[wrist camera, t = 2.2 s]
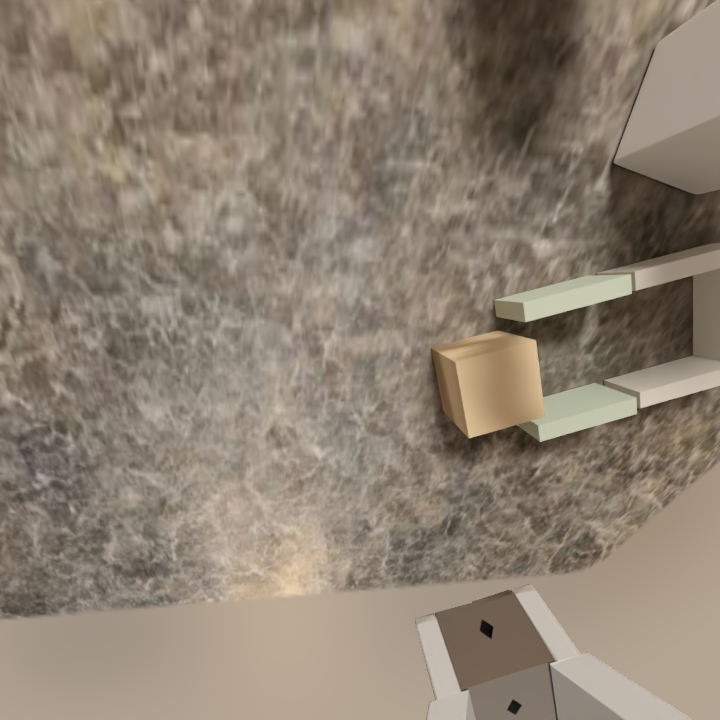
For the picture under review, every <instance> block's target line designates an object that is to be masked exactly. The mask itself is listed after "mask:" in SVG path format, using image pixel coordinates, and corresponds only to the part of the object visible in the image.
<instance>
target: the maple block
mask: <svg viewBox="0 0 720 720" xmlns="http://www.w3.org/2000/svg"><path fill="white" fill-rule="evenodd" d="M431 350H432V355H433V360H434V366H435V371H436V376H437V381H438V386H439V391H440V396H441V401H442V406H443V411H444V413H445V414H446V415H447V416H448V417H449V418H450V419H451V420H452V421H453V422H454V423H455V424H456V425H457V426H458V428H459V429H460V430H461V431H462V432H463V433H464V434H465V435H466V436H467V437H468V438H473V437H476V436H480V435H483V434H487V433H490V432H494V431H497V430H501V429H504V428H508V427H511V426H515V425H518V424H522V423H525V422H529V421H532V420H535V419H539V418H542V417H545V412H544V404H543V396H542V387H541V379H540V370H539V362H538V353H537V345H536V340H533V339H529V338H526V337H522V336H518V335H514V334H510V333H506V332H502V331H499V330H497V331H493V332H490V333H486V334H482V335H479V336H475V337H471V338H467V339H464V340H460V341H456V342H452V343H449V344H445V345H441V346H438V347H434V348H431Z"/></svg>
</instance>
